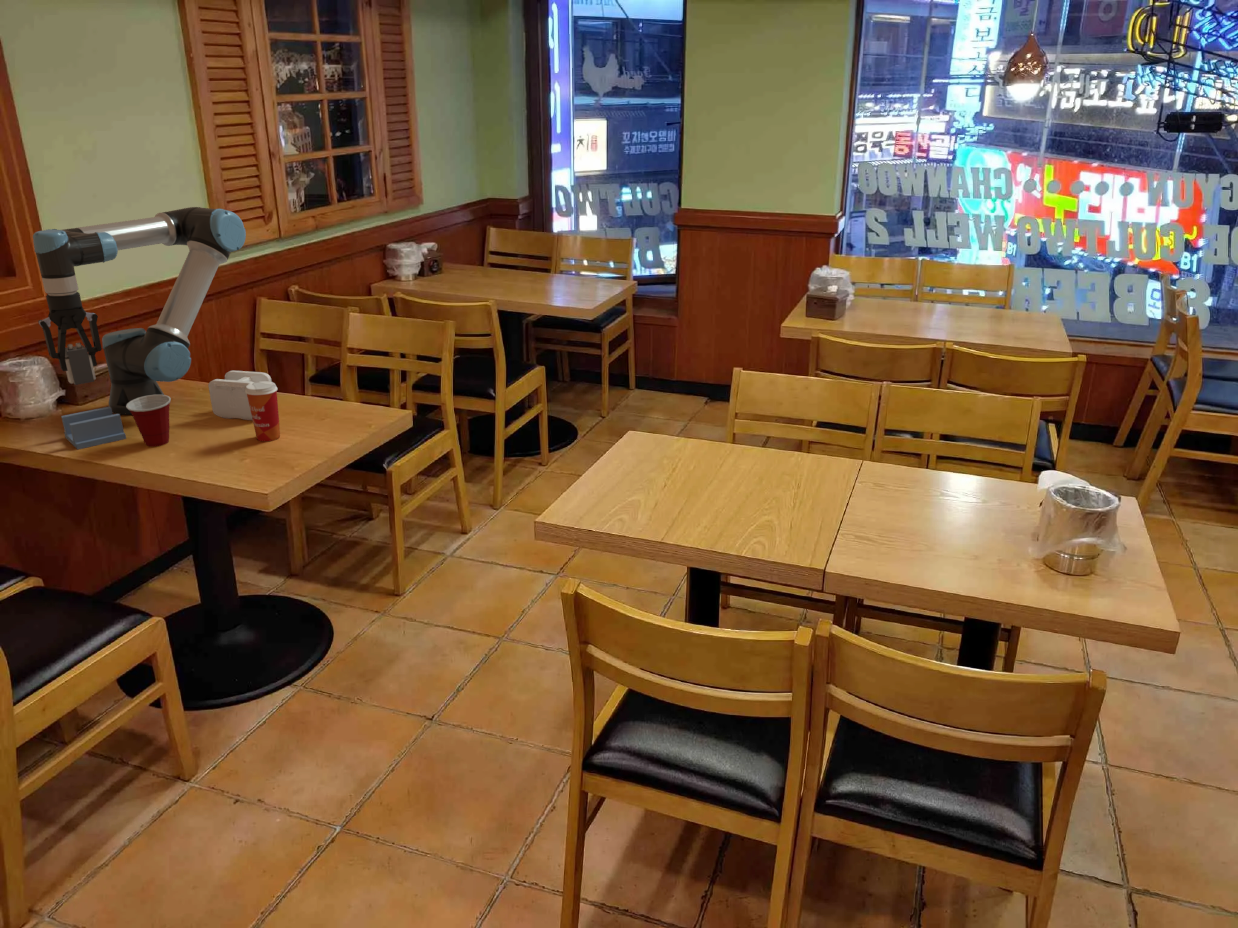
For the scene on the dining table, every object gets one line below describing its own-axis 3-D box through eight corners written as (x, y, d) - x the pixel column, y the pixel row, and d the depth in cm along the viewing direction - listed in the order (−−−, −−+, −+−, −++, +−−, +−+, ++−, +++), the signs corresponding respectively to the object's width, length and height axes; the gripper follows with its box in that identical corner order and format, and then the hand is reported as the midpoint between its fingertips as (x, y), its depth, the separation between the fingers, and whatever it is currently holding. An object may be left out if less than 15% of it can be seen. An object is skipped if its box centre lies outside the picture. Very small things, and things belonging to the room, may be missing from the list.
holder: (112, 427, 258) (108, 405, 255) (126, 438, 250) (121, 416, 247) (65, 437, 250) (59, 415, 248) (77, 449, 242) (72, 426, 240)
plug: (89, 377, 247) (80, 340, 243) (94, 381, 244) (85, 344, 240) (70, 381, 244) (62, 343, 240) (75, 384, 241) (66, 347, 237)
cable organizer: (278, 410, 272) (273, 372, 268) (259, 422, 262) (253, 383, 258) (233, 407, 275) (226, 369, 270) (211, 418, 265) (205, 380, 261)
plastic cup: (125, 448, 243) (115, 405, 239) (153, 434, 253) (145, 393, 248) (160, 452, 241) (151, 409, 236) (187, 438, 251) (179, 396, 246)
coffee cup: (247, 437, 251) (238, 385, 245) (275, 430, 256) (267, 378, 251) (262, 445, 246) (253, 392, 240) (290, 437, 251) (283, 385, 245)
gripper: (95, 286, 243) (113, 370, 252) (19, 295, 232) (41, 383, 241) (104, 290, 238) (122, 376, 247) (26, 300, 227) (48, 390, 236)
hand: (82, 380), depth 244 cm, fingers closed on plug, 4 cm apart
